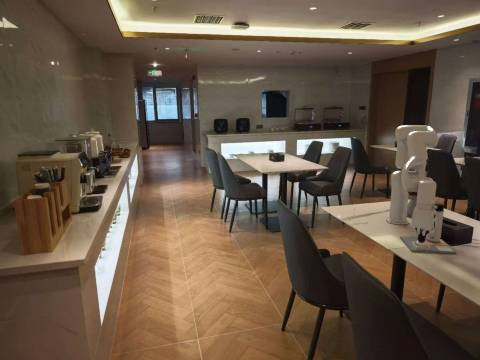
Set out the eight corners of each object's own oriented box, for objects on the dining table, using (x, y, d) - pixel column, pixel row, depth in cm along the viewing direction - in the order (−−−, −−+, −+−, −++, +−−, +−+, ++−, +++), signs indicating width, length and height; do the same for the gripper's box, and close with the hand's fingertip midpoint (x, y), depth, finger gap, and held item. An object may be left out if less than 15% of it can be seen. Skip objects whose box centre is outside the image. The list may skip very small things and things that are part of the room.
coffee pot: (426, 218, 212) (429, 195, 209) (408, 218, 212) (410, 195, 209) (411, 208, 233) (413, 187, 229) (394, 208, 233) (396, 187, 230)
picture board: (399, 238, 181) (400, 233, 180) (439, 239, 178) (440, 235, 177) (411, 251, 163) (411, 247, 163) (456, 253, 160) (456, 248, 160)
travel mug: (433, 244, 169) (438, 205, 165) (423, 239, 175) (427, 202, 171) (443, 242, 171) (448, 204, 167) (432, 238, 177) (437, 201, 173)
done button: (415, 243, 168) (415, 240, 168) (423, 244, 168) (424, 240, 167) (418, 247, 164) (418, 243, 164) (426, 247, 164) (427, 243, 163)
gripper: (445, 208, 158) (441, 244, 162) (413, 201, 170) (410, 236, 173) (438, 210, 154) (433, 248, 157) (405, 204, 165) (402, 239, 169)
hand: (421, 241), depth 165 cm, fingers closed
